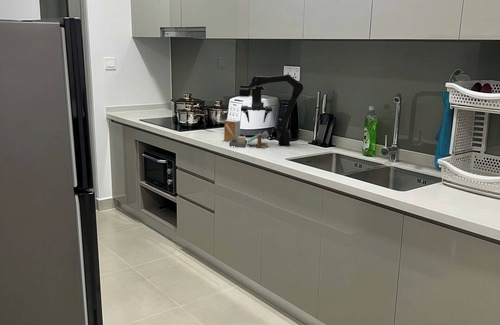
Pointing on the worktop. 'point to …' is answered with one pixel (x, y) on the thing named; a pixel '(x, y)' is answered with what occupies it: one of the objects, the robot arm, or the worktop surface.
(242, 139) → the stone
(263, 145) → the frame
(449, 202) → the worktop surface
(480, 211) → the worktop surface
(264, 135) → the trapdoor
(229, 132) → the small box
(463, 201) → the worktop surface
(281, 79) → the robot arm
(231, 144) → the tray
